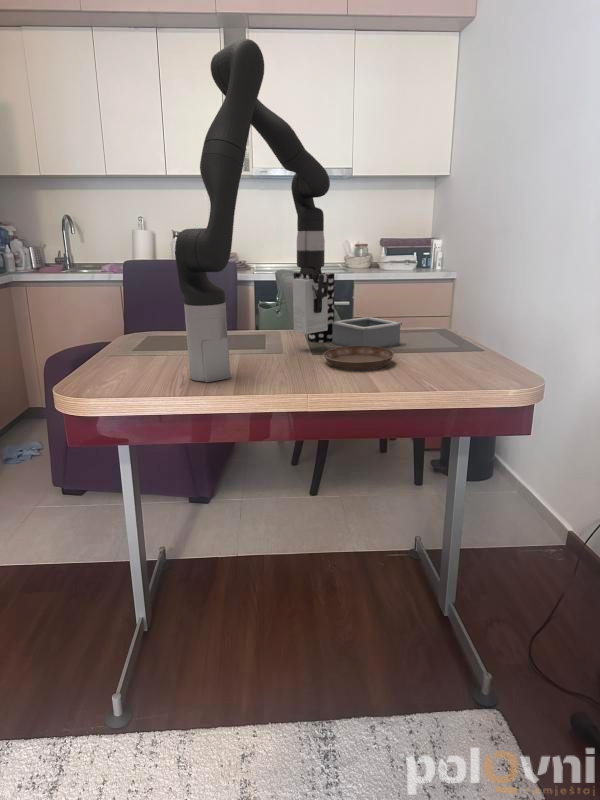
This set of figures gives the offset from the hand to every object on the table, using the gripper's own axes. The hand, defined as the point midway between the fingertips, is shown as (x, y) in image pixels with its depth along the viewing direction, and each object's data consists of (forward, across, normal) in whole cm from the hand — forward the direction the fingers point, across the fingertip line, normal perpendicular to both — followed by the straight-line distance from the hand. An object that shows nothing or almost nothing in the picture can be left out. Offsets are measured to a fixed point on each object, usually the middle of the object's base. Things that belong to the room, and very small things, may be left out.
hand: (310, 311), depth 149 cm
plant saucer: (+12, -20, -1) cm, 24 cm away
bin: (+11, -3, -17) cm, 21 cm away
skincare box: (+6, 0, 0) cm, 6 cm away
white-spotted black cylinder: (+11, +10, -11) cm, 19 cm away
